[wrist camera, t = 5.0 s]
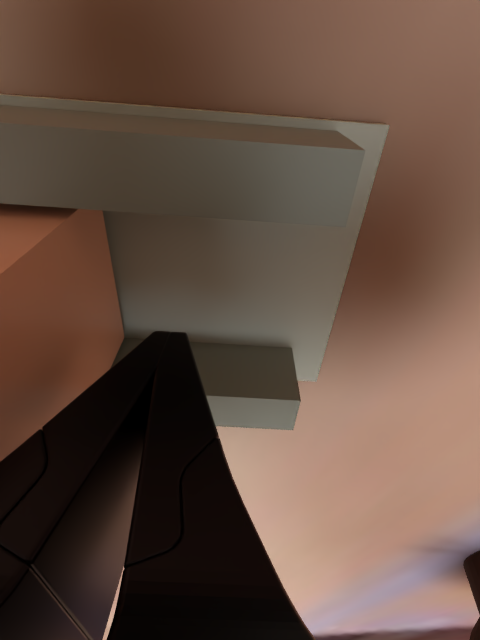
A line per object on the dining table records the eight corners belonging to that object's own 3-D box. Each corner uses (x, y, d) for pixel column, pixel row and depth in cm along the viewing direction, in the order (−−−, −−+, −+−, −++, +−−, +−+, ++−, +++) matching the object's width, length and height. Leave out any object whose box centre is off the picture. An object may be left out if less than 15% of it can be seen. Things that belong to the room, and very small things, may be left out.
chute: (385, 123, 9) (435, 143, 6) (315, 376, 14) (328, 435, 12) (-454, 57, 8) (-726, 54, 6) (-191, 346, 13) (-280, 403, 11)
